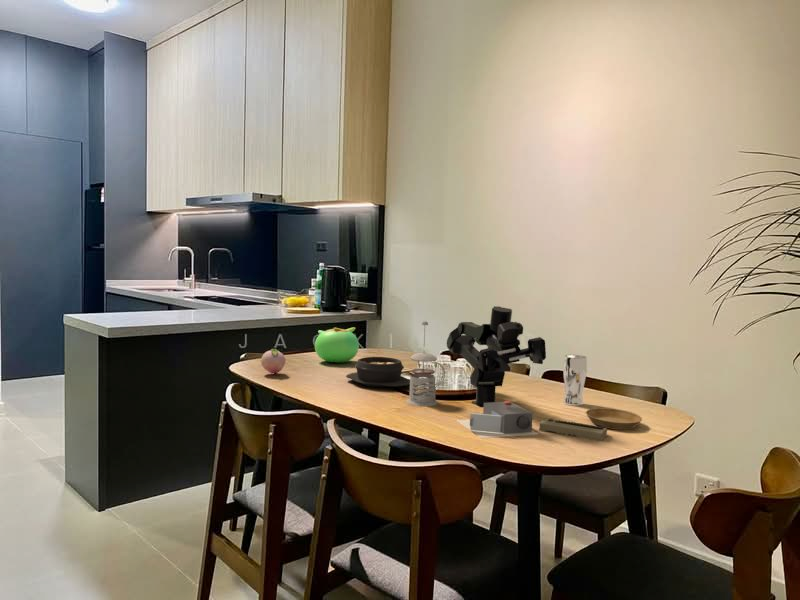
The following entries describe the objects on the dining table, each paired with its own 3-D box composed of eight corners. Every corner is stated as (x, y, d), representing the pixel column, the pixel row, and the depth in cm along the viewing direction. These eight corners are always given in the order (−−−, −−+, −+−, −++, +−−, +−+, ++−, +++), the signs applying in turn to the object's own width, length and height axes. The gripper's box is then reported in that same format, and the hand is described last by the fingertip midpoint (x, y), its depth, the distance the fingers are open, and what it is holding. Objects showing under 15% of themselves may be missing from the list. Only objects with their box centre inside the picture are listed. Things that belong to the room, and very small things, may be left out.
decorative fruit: (258, 372, 217) (259, 345, 216) (280, 371, 220) (281, 345, 219) (264, 377, 208) (264, 349, 208) (287, 376, 212) (287, 349, 211)
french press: (402, 398, 185) (405, 319, 183) (438, 398, 187) (441, 319, 185) (409, 406, 175) (412, 322, 173) (447, 405, 178) (450, 323, 176)
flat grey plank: (607, 436, 154) (607, 423, 153) (602, 444, 146) (602, 431, 146) (546, 426, 161) (547, 414, 161) (538, 434, 154) (539, 421, 153)
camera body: (482, 420, 161) (483, 400, 160) (509, 419, 163) (510, 399, 163) (505, 435, 148) (506, 413, 148) (534, 433, 151) (535, 411, 150)
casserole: (333, 382, 205) (334, 358, 204) (368, 375, 220) (369, 352, 219) (390, 394, 190) (391, 368, 189) (423, 385, 205) (424, 361, 204)
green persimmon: (313, 365, 235) (314, 328, 233) (315, 358, 251) (316, 323, 250) (358, 366, 236) (359, 329, 235) (358, 359, 253) (359, 324, 252)
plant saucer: (650, 425, 164) (651, 416, 164) (626, 435, 154) (626, 425, 154) (601, 414, 175) (601, 405, 175) (575, 422, 165) (575, 413, 165)
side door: (469, 430, 150) (470, 414, 150) (470, 429, 151) (470, 412, 151) (502, 433, 148) (503, 417, 148) (503, 432, 150) (503, 415, 149)
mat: (456, 421, 161) (456, 420, 161) (508, 418, 166) (508, 417, 166) (481, 439, 146) (481, 437, 145) (539, 435, 150) (539, 434, 150)
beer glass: (578, 407, 181) (581, 359, 180) (557, 403, 186) (560, 355, 185) (588, 404, 186) (591, 356, 185) (568, 399, 191) (570, 353, 190)
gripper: (468, 326, 165) (490, 344, 150) (530, 313, 168) (557, 329, 154) (472, 362, 168) (493, 384, 153) (532, 349, 171) (559, 369, 157)
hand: (526, 365), depth 154 cm, fingers open, 9 cm apart
